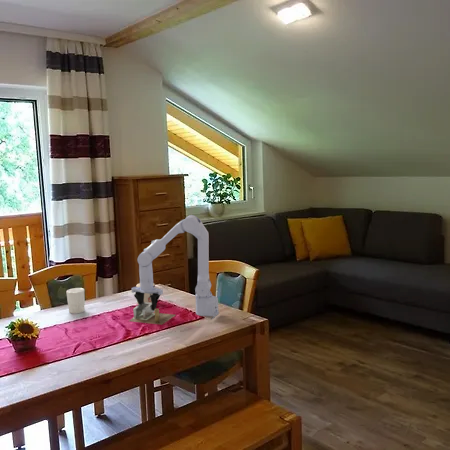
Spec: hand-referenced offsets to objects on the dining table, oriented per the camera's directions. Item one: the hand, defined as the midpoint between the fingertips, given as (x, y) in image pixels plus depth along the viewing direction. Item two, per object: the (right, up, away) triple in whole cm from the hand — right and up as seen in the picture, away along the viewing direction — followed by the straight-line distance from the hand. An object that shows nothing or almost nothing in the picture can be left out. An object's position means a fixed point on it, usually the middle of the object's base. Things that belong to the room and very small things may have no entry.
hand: (148, 309), depth 217 cm
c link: (-1, -2, -3) cm, 4 cm away
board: (+3, -4, -5) cm, 7 cm away
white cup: (-34, -3, +10) cm, 36 cm away
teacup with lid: (-3, 0, +21) cm, 21 cm away
